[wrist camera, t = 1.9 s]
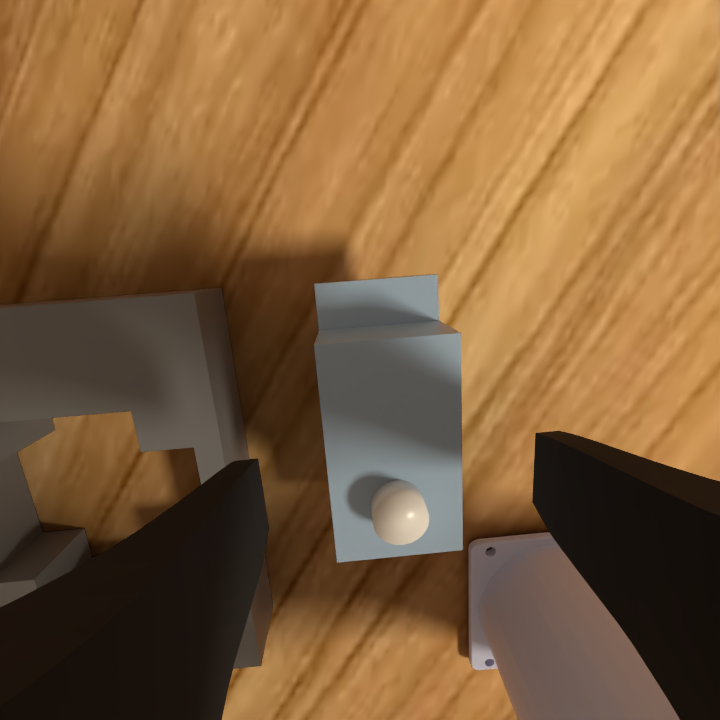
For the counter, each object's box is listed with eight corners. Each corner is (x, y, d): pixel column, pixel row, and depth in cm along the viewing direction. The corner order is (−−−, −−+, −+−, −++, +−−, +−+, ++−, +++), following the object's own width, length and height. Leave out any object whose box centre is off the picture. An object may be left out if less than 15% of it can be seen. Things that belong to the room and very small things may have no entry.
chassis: (221, 287, 15) (193, 293, 13) (273, 605, 19) (261, 665, 17) (-57, 309, 15) (-151, 320, 12) (53, 628, 19) (1, 693, 16)
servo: (416, 272, 16) (470, 277, 9) (424, 485, 18) (471, 610, 12) (320, 279, 16) (305, 290, 9) (341, 493, 18) (341, 623, 12)
